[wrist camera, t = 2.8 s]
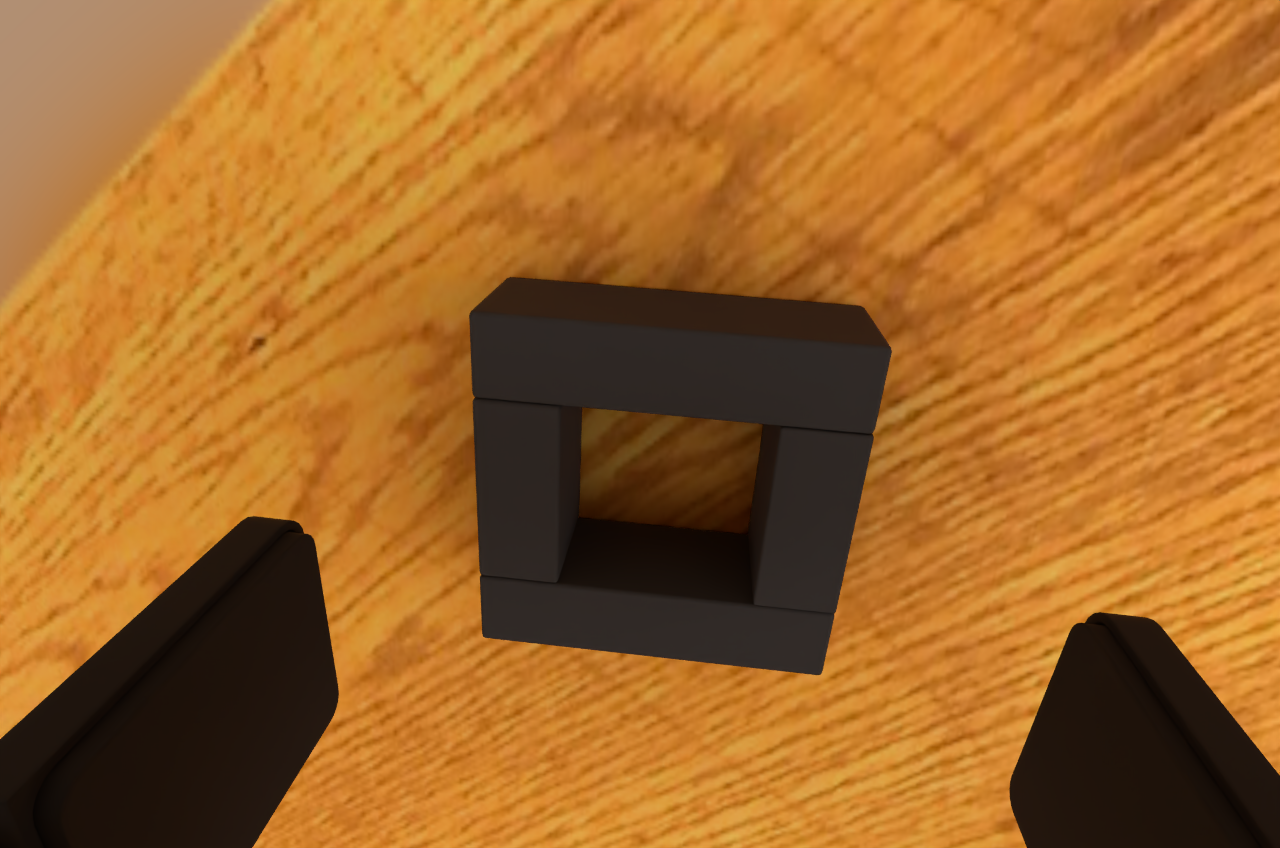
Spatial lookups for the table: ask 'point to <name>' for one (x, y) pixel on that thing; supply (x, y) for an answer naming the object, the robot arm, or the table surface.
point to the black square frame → (679, 386)
